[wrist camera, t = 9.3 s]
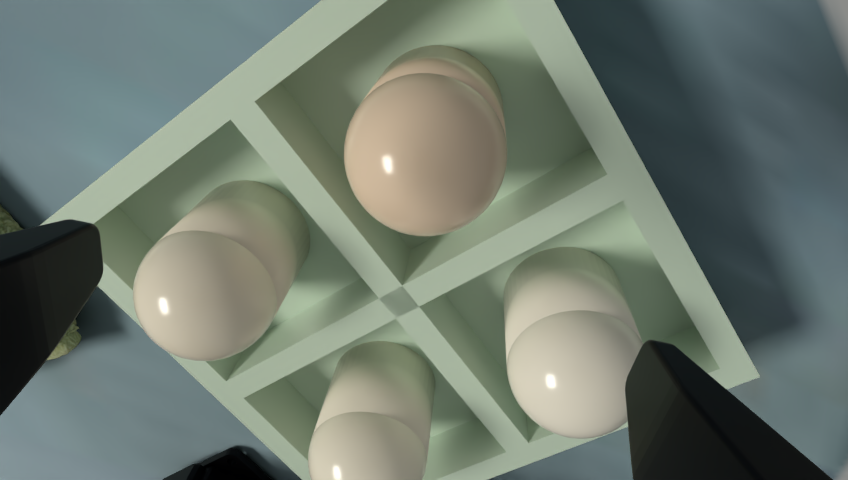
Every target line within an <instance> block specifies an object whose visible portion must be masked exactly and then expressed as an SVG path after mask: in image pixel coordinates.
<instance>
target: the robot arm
mask: <svg viewBox="0 0 848 480" xmlns="http://www.w3.org/2000/svg"><path fill="white" fill-rule="evenodd" d="M102 275H103V258H102V248H101V239H100V232H99V229H98V228H97V226H95V225H94V224H92V223H88V222H83V221H78V220H73V219H67V220H62V221H58V222H53V223H49V224H45V225H40V226H36V227H32V228H27V229H23V230H18V231H14V232H10V233H5V234H1V235H0V415H1V414H2V413H3V412H4V411H5V409H6V408H7V407H8V406H9V405H10V403H11V402H12V401H13V400H14V399H15V398H16V396H17V395H18V394H19V393H20V392H21V390H22V389H23V388H24V387H25V386H26V384H27V383H28V382H29V381H30V380H31V378H32V377H33V376H34V375H35V374H36V372H37V371H38V370H39V369H40V368H41V366H42V365H43V364H44V363H45V361H46V360H47V359H48V358H49V356H50V355H51V354H52V352H53V351H54V349H55V348H56V347H57V345H58V344H59V342H60V341H61V339H62V338H63V336H64V335H65V333H66V332H67V330H68V329H69V327H70V326H71V324H72V323H73V321H74V320H75V318H76V317H77V315H78V314H79V312H80V311H81V309H82V308H83V306H84V305H85V303H86V302H87V300H88V299H89V297H90V296H91V294H92V293H93V291H94V290H95V288H96V287H97V285H98V284H99V282H100V280H101V278H102ZM625 397H626V408H627V420H628V431H629V442H630V454H631V464H632V473H633V479H634V480H833V479H831V478H830V477H829V476H828V475H827V474H826V473H824V472H823V471H822V470H821V469H820V468H818V467H817V466H816V465H815V464H814V463H813V462H811V461H810V460H809V459H808V458H807V457H805V456H804V455H803V454H802V453H801V452H800V451H798V450H797V449H796V448H795V447H794V446H792V445H791V444H790V443H789V442H788V441H787V440H785V439H784V438H783V437H782V436H781V435H780V434H778V433H777V432H776V431H775V430H774V429H772V428H771V427H770V426H769V425H768V424H767V423H765V422H764V421H763V420H762V419H761V418H759V417H758V416H757V415H756V414H755V413H754V412H752V411H751V410H750V409H749V408H748V407H747V406H745V405H744V404H743V403H742V402H741V401H739V400H738V399H737V398H736V397H735V396H734V395H732V394H731V393H730V392H729V391H728V390H727V389H725V388H724V387H723V386H722V385H721V384H719V383H718V382H717V381H716V380H715V379H714V378H712V377H711V376H710V375H709V374H708V373H706V372H705V371H704V370H703V369H702V368H701V367H699V366H698V365H697V364H696V363H695V362H694V361H692V360H691V359H690V358H689V357H688V356H686V355H685V354H684V353H683V352H682V351H681V350H679V349H678V348H677V347H676V346H675V345H673V344H670V343H666V342H661V341H656V340H648V341H645V342H644V344H643V345H642V347H641V349H640V351H639V353H638V355H637V357H636V359H635V361H634V363H633V365H632V368H631V370H630V372H629V374H628V376H627V379H626V384H625ZM163 480H272V479H271V478H269V477H268V476H267V475H266V474H265V473H264V472H263V471H262V470H261V469H260V468H259V467H258V466H256V465H255V464H254V463H253V462H252V461H251V460H250V459H249V458H248V457H247V456H246V455H245V454H243V453H242V452H241V451H240V450H238V449H233V448H231V449H227V450H225V451H223V452H221V453H219V454H217V455H215V456H213V457H211V458H209V459H207V460H205V461H203V462H201V463H197V464H193V465H191V466H189V467H187V468H185V469H182V470H180V471H178V472H176V473H174V474H172V475H170V476H168V477H166V478H164V479H163Z"/></svg>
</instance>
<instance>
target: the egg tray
mask: <svg viewBox="0 0 848 480" xmlns="http://www.w3.org/2000/svg"><path fill="white" fill-rule="evenodd" d="M430 45H443V46H450V47H454V48H457V49H460V50H463V51H465V52H467V53H469V54H470V55H472V56H474V57H475V58H477V59H478V60H479V61H480V62H482V63H483V64H484V65H485V67H486V68H487V69H488V70H489V71H490V73H491V74H492V75H493V77H494V78H495V80H496V82H497V84H498V87H499V89H500V92H501V96H502V100H503V109H504V119H505V130H506V140H507V166H506V171H505V176H504V179H503V182H502V185H501V187H500V189H499V191H498V193H497V195H496V197H495V198H494V200H493V201H492V203H491V204H490V206H489V207H488V208H487V209H486V210H485V211H484V212H483V213H482V214H481V215H480V216H479V217H477V218H476V219H475V220H474V221H472V222H471V223H469V224H468V225H466V226H465V227H463V228H460V229H458V230H456V231H453V232H450V233H447V234H442V235H437V236H414V235H408V234H404V233H400V232H398V231H395V230H393V229H391V228H389V227H387V226H385V225H383V224H382V223H380V222H379V221H377V220H376V219H375V218H374V217H373V216H371V215H370V214H369V213H368V212H367V211H366V210H365V209H364V207H363V206H362V205H361V204H360V202H359V201H358V199H357V198H356V197H355V195H354V193H353V191H352V189H351V186H350V184H349V181H348V178H347V175H346V170H345V164H344V143H345V138H346V132H347V129H348V127H349V124H350V121H351V119H352V117H353V115H354V113H355V111H356V109H357V108H358V107H359V105H360V104H361V102H362V101H363V100H364V98H365V97H366V95H367V94H368V93H369V91H370V90H371V88H372V87H373V86H374V84H375V83H376V82H377V80H378V79H379V77H380V76H381V75H382V73H383V72H384V70H385V69H386V68H387V67H388V66H389V65H390V64H391V63H392V62H393V61H394V60H395V59H397V58H398V57H399V56H401V55H403V54H404V53H406V52H408V51H410V50H413V49H415V48H419V47H423V46H430ZM239 180H248V181H255V182H259V183H263V184H266V185H268V186H271V187H273V188H275V189H277V190H278V191H280V192H281V193H283V194H284V195H286V196H287V197H288V198H289V199H290V200H291V201H292V202H293V203H294V204H295V205H296V206H297V207H298V209H299V210H300V211H301V213H302V215H303V216H304V218H305V220H306V223H307V225H308V229H309V233H310V249H309V253H308V256H307V259H306V260H305V262H304V264H303V266H302V268H301V270H300V271H299V273H298V275H297V277H296V279H295V281H294V282H293V284H292V286H291V288H290V290H289V291H288V293H287V295H286V297H285V299H284V301H283V302H282V304H281V306H280V308H279V310H278V312H277V313H276V315H275V317H274V319H273V321H272V322H271V324H270V326H269V327H268V329H267V330H266V331H265V333H264V334H263V335H262V336H261V337H260V338H259V339H258V340H257V341H256V342H255V343H254V344H253V345H251V346H250V347H248V348H247V349H245V350H244V351H242V352H240V353H238V354H236V355H233V356H231V357H228V358H224V359H219V360H214V361H194V360H188V359H184V358H181V357H178V356H175V355H173V354H171V353H169V352H168V353H169V354H170V355H171V356H172V357H173V358H174V359H175V360H176V361H177V362H178V363H179V364H181V365H182V366H183V367H184V368H185V369H186V370H187V371H188V372H189V373H190V374H191V375H192V376H193V377H194V378H195V379H196V380H197V381H198V382H200V383H201V384H202V385H203V386H204V387H205V388H206V389H207V390H208V391H209V392H210V393H211V394H212V395H213V396H214V397H215V398H216V399H217V400H218V401H220V402H221V403H222V404H223V405H224V406H225V407H226V408H227V409H228V410H229V411H230V412H231V413H232V414H233V415H234V416H235V417H236V418H237V419H239V420H240V421H241V422H242V423H243V424H244V425H245V426H246V427H247V428H248V429H249V430H250V431H251V432H252V433H253V434H254V435H255V436H256V437H257V438H259V439H260V440H261V441H262V442H263V443H264V444H265V445H266V446H267V447H268V448H269V449H270V450H271V451H272V452H273V453H274V454H275V455H276V456H278V457H279V458H280V459H281V460H282V461H283V462H284V463H285V464H286V465H287V466H288V467H289V468H290V469H291V470H292V471H293V472H294V473H295V474H297V475H298V476H299V477H300V478H301V479H302V480H311V478H310V474H309V468H308V452H309V446H310V442H311V438H312V435H313V432H314V430H315V427H316V424H317V421H318V418H319V415H320V412H321V409H322V406H323V403H324V400H325V398H326V395H327V392H328V389H329V386H330V383H331V380H332V377H333V374H334V371H335V368H336V366H337V363H338V361H339V360H340V358H341V357H342V356H343V355H344V353H346V352H347V351H348V350H349V349H351V348H353V347H354V346H357V345H359V344H362V343H366V342H371V341H387V342H393V343H397V344H400V345H403V346H406V347H408V348H410V349H412V350H413V351H415V352H416V353H418V354H419V355H420V356H421V357H423V358H424V360H425V361H426V362H427V363H428V364H429V366H430V367H431V369H432V371H433V374H434V377H435V395H434V404H433V413H432V422H431V431H430V440H429V449H428V458H427V465H426V471H425V475H424V477H423V480H488V479H490V478H493V477H496V476H498V475H501V474H504V473H506V472H509V471H512V470H514V469H517V468H519V467H522V466H525V465H527V464H530V463H533V462H535V461H538V460H541V459H543V458H546V457H549V456H551V455H554V454H557V453H559V452H562V451H565V450H567V449H570V448H573V447H575V446H578V445H580V444H583V443H586V442H588V441H591V440H594V439H596V438H599V437H602V436H599V437H595V438H587V439H577V438H569V437H564V436H560V435H558V434H555V433H552V432H550V431H548V430H546V429H544V428H543V427H541V426H540V425H538V424H537V423H536V422H534V421H533V420H532V419H531V418H530V417H529V416H528V415H527V414H526V413H525V412H524V411H523V409H522V408H521V407H520V405H519V404H518V402H517V400H516V399H515V397H514V395H513V392H512V390H511V387H510V384H509V380H508V374H507V363H506V342H505V321H504V301H503V296H504V288H505V284H506V282H507V279H508V278H509V276H510V274H511V273H512V271H513V270H514V269H515V268H516V267H517V266H518V265H519V264H520V263H521V262H522V261H523V260H525V259H526V258H528V257H529V256H531V255H533V254H535V253H537V252H539V251H542V250H546V249H550V248H555V247H574V248H580V249H584V250H587V251H590V252H592V253H594V254H596V255H598V256H600V257H601V258H602V259H604V260H605V261H606V262H607V263H608V264H609V265H610V266H611V267H612V268H613V270H614V271H615V273H616V275H617V277H618V279H619V282H620V284H621V287H622V290H623V292H624V295H625V298H626V300H627V303H628V305H629V308H630V311H631V313H632V316H633V319H634V321H635V324H636V326H637V329H638V332H639V334H640V337H641V340H642V342H643V344H644V342H645V341H648V340H656V341H661V342H666V343H670V344H673V345H675V346H676V347H677V348H678V349H679V350H681V351H682V352H683V353H684V354H685V355H686V356H688V357H689V358H690V359H691V360H692V361H694V362H695V363H696V364H697V365H698V366H699V367H701V368H702V369H703V370H704V371H705V372H706V373H708V374H709V375H710V376H711V377H712V378H714V379H715V380H716V381H717V382H718V383H719V384H721V385H722V386H723V387H724V388H725V389H729V388H732V387H734V386H737V385H740V384H742V383H745V382H748V381H750V380H753V379H756V378H758V377H760V376H759V374H758V372H757V370H756V368H755V367H754V365H753V363H752V361H751V359H750V358H749V356H748V354H747V352H746V350H745V348H744V347H743V345H742V343H741V341H740V339H739V337H738V336H737V334H736V332H735V330H734V328H733V327H732V325H731V323H730V321H729V319H728V317H727V316H726V314H725V312H724V310H723V308H722V306H721V305H720V303H719V301H718V299H717V297H716V295H715V294H714V292H713V290H712V288H711V286H710V285H709V283H708V281H707V279H706V277H705V275H704V274H703V272H702V270H701V268H700V266H699V264H698V263H697V261H696V259H695V257H694V255H693V253H692V252H691V250H690V248H689V246H688V244H687V243H686V241H685V239H684V237H683V235H682V233H681V232H680V230H679V228H678V226H677V224H676V222H675V221H674V219H673V217H672V215H671V213H670V211H669V210H668V208H667V206H666V204H665V202H664V201H663V199H662V197H661V195H660V193H659V191H658V190H657V188H656V186H655V184H654V182H653V180H652V179H651V177H650V175H649V173H648V171H647V170H646V168H645V166H644V164H643V162H642V160H641V159H640V157H639V155H638V153H637V151H636V149H635V148H634V146H633V144H632V142H631V140H630V138H629V137H628V135H627V133H626V131H625V129H624V128H623V126H622V124H621V122H620V120H619V118H618V117H617V115H616V113H615V111H614V109H613V107H612V106H611V104H610V102H609V100H608V98H607V96H606V95H605V93H604V91H603V89H602V87H601V86H600V84H599V82H598V80H597V78H596V76H595V75H594V73H593V71H592V69H591V67H590V65H589V64H588V62H587V60H586V58H585V56H584V55H583V53H582V51H581V49H580V47H579V45H578V44H577V42H576V40H575V38H574V36H573V34H572V33H571V31H570V29H569V27H568V25H567V23H566V22H565V20H564V18H563V16H562V14H561V13H560V11H559V9H558V7H557V5H556V3H555V2H554V0H321V1H320V2H319V3H318V4H316V5H315V6H314V7H313V8H311V9H310V10H309V11H308V12H306V13H305V14H304V15H303V16H301V17H300V18H299V19H298V20H296V21H295V22H294V23H293V24H291V25H290V26H289V27H288V28H286V29H285V30H284V31H283V32H281V33H280V34H279V35H278V36H276V37H275V38H274V39H273V40H271V41H270V42H269V43H268V44H266V45H265V46H264V47H263V48H261V49H260V50H259V51H258V52H256V53H255V54H254V55H253V56H251V57H250V58H249V59H248V60H246V61H245V62H244V63H243V64H241V65H240V66H239V67H238V68H236V69H235V70H234V71H232V72H231V73H230V74H229V75H227V76H226V77H225V78H224V79H222V80H221V81H220V82H219V83H217V84H216V85H215V86H214V87H212V88H211V89H210V90H209V91H207V92H206V93H205V94H204V95H202V96H201V97H200V98H199V99H197V100H196V101H195V102H194V103H192V104H191V105H190V106H189V107H187V108H186V109H185V110H184V111H182V112H181V113H180V114H179V115H177V116H176V117H175V118H174V119H172V120H171V121H170V122H169V123H167V124H166V125H165V126H164V127H162V128H161V129H160V130H159V131H157V132H156V133H155V134H154V135H152V136H151V137H150V138H149V139H147V140H146V141H145V142H144V143H142V144H141V145H140V146H139V147H137V148H136V149H135V150H134V151H132V152H131V153H130V154H129V155H127V156H126V157H125V158H124V159H122V160H121V161H120V162H119V163H117V164H116V165H115V166H114V167H112V168H111V169H110V170H109V171H107V172H106V173H105V174H104V175H102V176H101V177H100V178H99V179H97V180H96V181H95V182H94V183H92V184H91V185H90V186H88V187H87V188H86V189H85V190H83V191H82V192H81V193H80V194H78V195H77V196H76V197H75V198H73V199H72V200H71V201H70V202H68V203H67V204H66V205H65V206H63V207H62V208H61V209H60V210H58V211H57V212H56V213H55V214H53V215H52V216H51V217H50V218H48V219H47V220H46V221H45V222H43V223H42V224H41V225H45V224H49V223H53V222H58V221H62V220H67V219H73V220H78V221H83V222H88V223H92V224H94V225H95V226H97V228H98V229H99V232H100V239H101V248H102V258H103V275H102V278H101V280H100V282H99V284H98V285H97V286H98V287H99V288H100V289H101V290H103V291H104V292H105V293H106V294H107V295H108V296H109V297H110V298H111V299H112V300H113V301H114V302H115V303H116V304H117V305H118V306H119V307H120V308H121V309H123V310H124V311H125V312H126V313H127V314H128V315H129V316H130V317H131V318H132V319H133V320H134V321H135V322H136V323H137V324H138V325H139V326H140V327H142V326H141V324H140V322H139V320H138V318H137V315H136V312H135V307H134V301H133V286H134V280H135V277H136V273H137V271H138V268H139V266H140V264H141V262H142V260H143V259H144V257H145V255H146V254H147V253H148V252H149V250H150V249H151V248H152V247H153V246H154V245H155V244H156V243H157V242H158V241H159V240H160V239H161V238H162V237H163V236H164V235H165V234H166V233H167V232H168V231H169V230H170V229H172V228H173V227H174V226H175V225H176V224H177V223H178V222H179V221H180V220H181V219H182V218H183V217H184V216H185V215H186V214H187V213H188V212H190V211H191V210H192V209H193V208H194V207H195V206H196V205H197V204H198V203H199V202H200V201H201V200H202V199H203V198H204V197H205V196H206V195H208V194H209V193H210V192H211V191H212V190H213V189H215V188H216V187H218V186H220V185H222V184H225V183H228V182H232V181H239ZM626 427H628V421H627V422H626V423H625V424H624V425H622V426H621V427H619V428H618V429H616V430H615V431H618V430H620V429H623V428H626ZM615 431H613V432H615ZM611 433H612V432H611ZM608 434H610V433H608ZM606 435H607V434H606ZM603 436H604V435H603Z"/></svg>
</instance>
